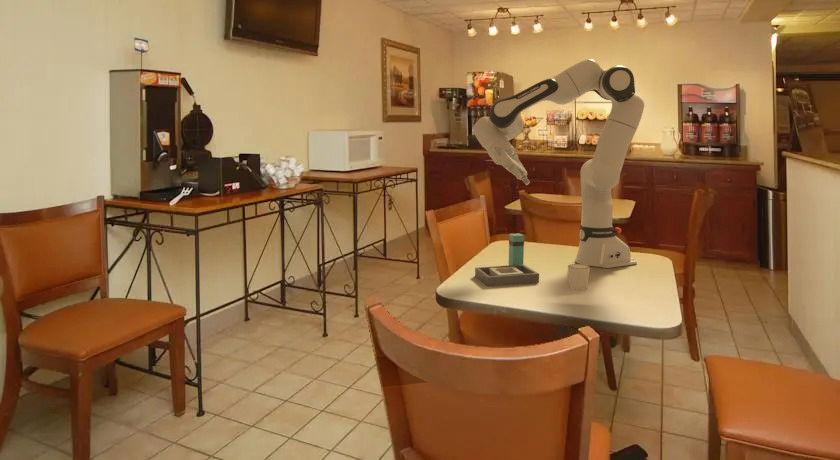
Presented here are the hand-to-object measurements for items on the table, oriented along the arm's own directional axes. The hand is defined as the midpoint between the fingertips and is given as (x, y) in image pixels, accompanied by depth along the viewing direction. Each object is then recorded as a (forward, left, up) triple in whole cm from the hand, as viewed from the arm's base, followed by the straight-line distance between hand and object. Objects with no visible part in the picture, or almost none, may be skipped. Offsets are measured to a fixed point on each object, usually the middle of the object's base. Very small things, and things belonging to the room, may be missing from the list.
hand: (524, 180), depth 202 cm
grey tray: (+12, +15, -32) cm, 37 cm away
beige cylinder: (-7, +29, -32) cm, 44 cm away
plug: (+4, +4, -32) cm, 32 cm away
